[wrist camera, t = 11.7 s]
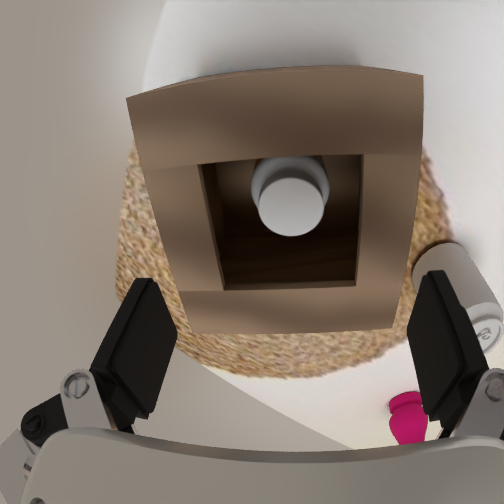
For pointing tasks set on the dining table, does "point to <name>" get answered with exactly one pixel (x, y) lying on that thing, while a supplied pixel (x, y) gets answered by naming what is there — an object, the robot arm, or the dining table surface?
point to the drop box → (246, 212)
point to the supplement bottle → (290, 192)
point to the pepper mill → (408, 418)
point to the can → (466, 290)
